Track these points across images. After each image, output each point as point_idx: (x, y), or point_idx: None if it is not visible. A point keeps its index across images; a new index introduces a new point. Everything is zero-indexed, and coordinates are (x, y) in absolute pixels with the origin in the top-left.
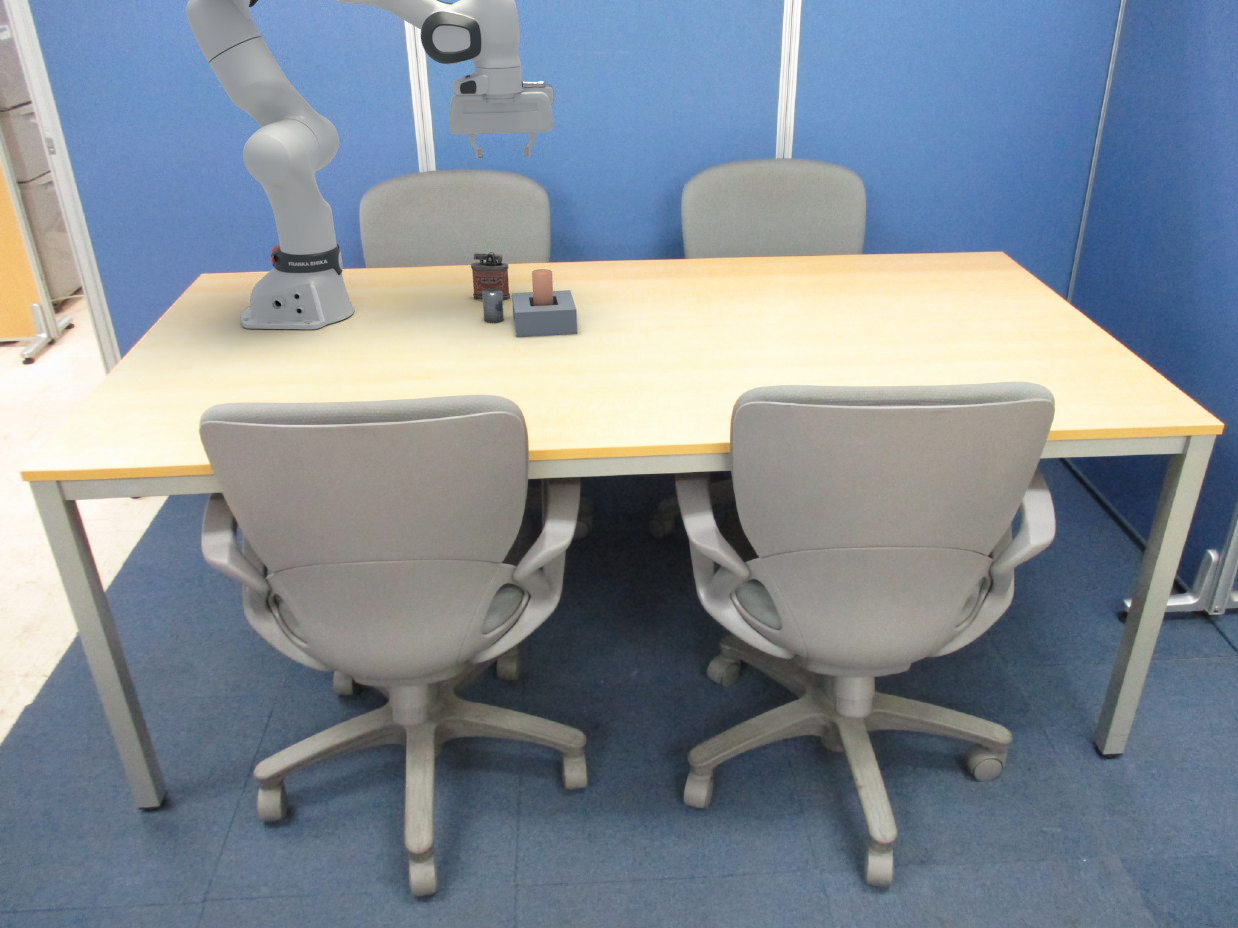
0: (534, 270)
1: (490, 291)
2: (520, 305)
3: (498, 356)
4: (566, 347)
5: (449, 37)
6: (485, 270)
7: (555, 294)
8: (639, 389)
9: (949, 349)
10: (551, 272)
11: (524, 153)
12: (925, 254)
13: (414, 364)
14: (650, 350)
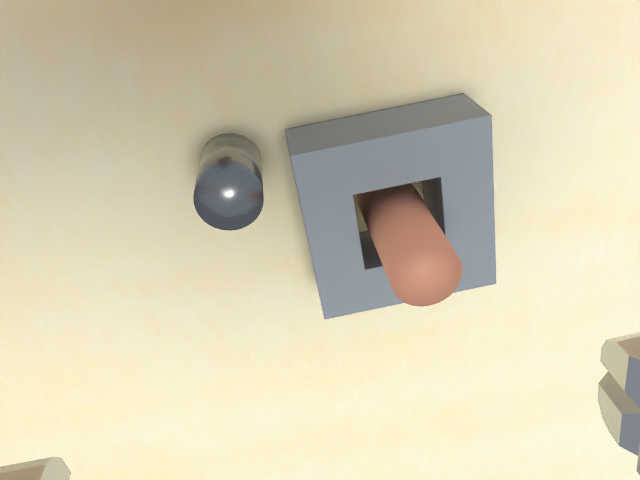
0: (399, 260)
1: (221, 195)
2: (333, 266)
3: (290, 383)
4: (441, 327)
5: None
6: None
7: (440, 162)
8: (560, 476)
9: None
10: (459, 277)
11: (630, 446)
12: None
13: (113, 434)
14: (623, 326)
